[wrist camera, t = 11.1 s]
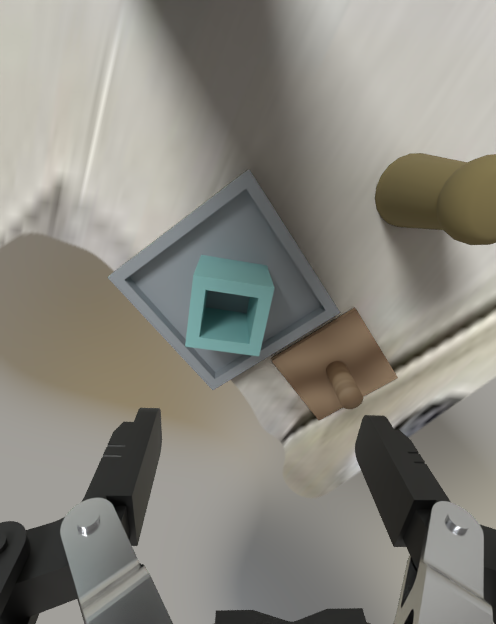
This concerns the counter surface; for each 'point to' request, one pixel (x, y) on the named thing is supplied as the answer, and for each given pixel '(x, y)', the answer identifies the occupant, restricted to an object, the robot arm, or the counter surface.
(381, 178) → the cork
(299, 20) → the counter surface
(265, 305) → the open box
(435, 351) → the counter surface
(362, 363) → the square board with knob
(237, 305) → the tray
